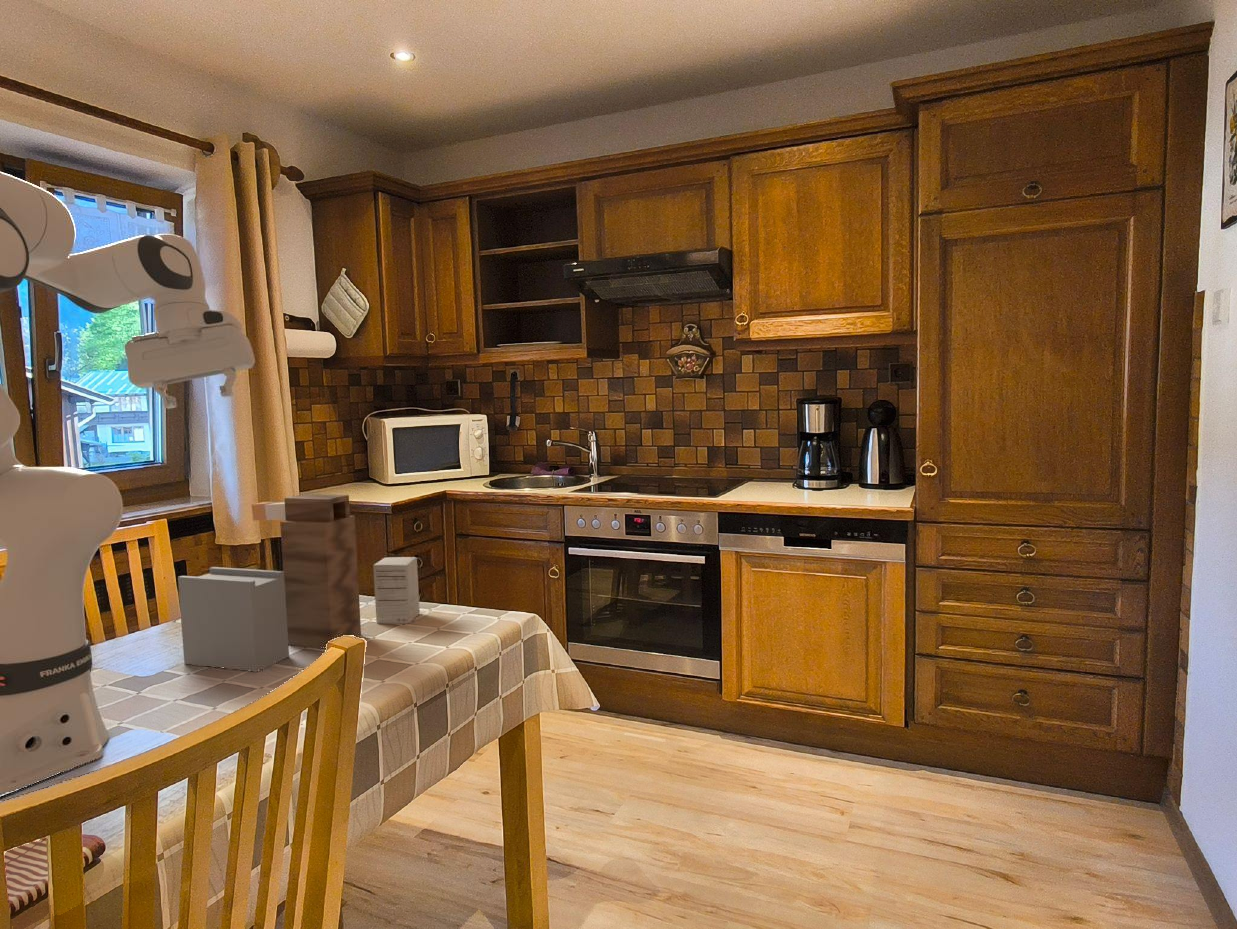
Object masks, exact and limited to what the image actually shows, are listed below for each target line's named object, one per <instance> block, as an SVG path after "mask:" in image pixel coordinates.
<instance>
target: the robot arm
mask: <svg viewBox="0 0 1237 929" xmlns="http://www.w3.org/2000/svg"><path fill="white" fill-rule="evenodd" d="M75 240H76V226H75V222H74V219H73V217H72V215H71V212H70V210H69V209H68V208H67V205H66V204H64V203H63V202H62V201H61V200H60V199H59V198H58V197H56V196H55V195H54V194H52V193H51V192H49V191H47V190H45V189H44V188H42V187H41V186H40V187H39V186H37V185H36V184H33V183H31V182H28V181H25V180H23V179H21V178H18V177H15V176H13V175H12V174H8V173H5V172H2V171H0V294H1V293H5V292H8V291H10V290H13V289H14V288H16V287H18V286H19V285H20V284H22V282H23V281H24V280H26V281H28V282H31V283H33V284H36V285H38V286H40V287H43V288H45V289H47V290H50V291H53V292H54V293H57V294H59V295H61V296H63V297H65V298H66V299H68V301H70V302H72V304H74V305H76V306H77V307H79V308H80V309H83V310H84V311H87V312H89V313H93V314H104V313H106V312H108V311H111V310H114V309H116V308H120V307H122V306H125V305H128V304H132V303H135V302H139V301H142V300H146V299H151V300H153V302H154V305H153V315H154V321H155V326H156V332H150V333H146V334H143V335H134V336H132V337H131V339H129V340H128V341H127V342H126V343H125V345H124V352H125V356H126V359H127V374H128V381H129V382H130V383H131V384H132V385H134V386H135V387H137V388H139V389H141V390H142V389H143V390H145V389H150V388H153V390H154V391H156V393H157V394H158V395H159V396H160V397H161V398H162V402H163V405H164V408H166V409H169V410H170V409H174V408H178V403H177V397H175V396H173V395H169V394H167V392H166V391H168V385H170V384H175V383H181V382H187V381H192V380H197V379H203V378H208V377H212V376H217V375H218V376H219V375H223V376H225V377H226V378H225V381H224V383H223V384H224V385H219V386H218V388H219V391H220V395H221V397H222V398H230V397H233V396H234V394H233V393H234V392H233V386H234V384H235V381H236V379H237V373H236V372H238V371H244V370H248V369H249V370H250V369H252V368H253V367H254V365H255V363H256V359H255V355H254V351H253V348H252V345H251V342H250V340H249V338H248V336H247V335H246V334H245V333H243V332H242V331H243V325H242V323H241V321H240V320H239V319H237V317H236V316H234V315H233V314H231V313H230V312H228V311H226V310H225V311H224V310H216V309H211V308H210V305H209V303H208V301H207V299H206V283H205V277H204V273H203V270H202V266H201V262H200V259H199V256H198V253H197V252H196V250H195V247H194V246H193V244H192V242H191V241H189V240H188V239H186V238H185V237H182V236H179V235H177V234H174V233H173V234H172V233H159V234H155V235H153V234H151V235H150V234H145V235H138V236H135V237H131V238H128V239H124V240H120V241H117V242H114V243H110V244H108V245H104V246H101V247H100V246H99V247H96V248H93V249H89V250H86V251H81V252H80V251H79V252H75V253H72V251H73V248H74V245H75V243H76V242H75ZM20 424H21V414H20V412H19V409H18V408H17V406H16V405H15V403H14V402H13V401H12V399H11V396H9V394H8V392H7V391H6V390H5V388H4V386H3V385H2V383H1V382H0V550H6V554H7V556H6V564H5V568H4V572H3V575H2V577H1V579H0V795H2V794H5V793H6V792H11V791H15V790H16V789H20V788H23V787H25V786H28V785H29V784H33V783H35V782H37V781H41V780H44V779H45V778H47V777H50V776H52V775H55V774H57V773H59V772H63V771H66V772H68V771H69V770H68V769H71V768H73V769H75V768H74V767H76V766H78V767H80V766H79V765H81V766H83V765H85V764H84V763H86V764H88V763H91V762H93V761H95V759H96V760H98V759H100V758H101V757H103V755H104V749H103V747H104V746H105V744H106V743H107V742H108V741H109V738H110V733H109V731H108V729H107V727H106V725H105V723H104V721H103V718H102V716H101V713H100V709H99V706H98V703H97V700H96V699H97V698H96V696H95V691H94V687H93V682H92V675H91V673H92V667H93V656H92V654H93V653H92V647H91V642H90V641H89V640H88V639H87V635H86V634H87V633H86V621H85V620H86V619H85V618H86V617H85V601H84V600H85V598H84V593H85V592H84V590H85V583H86V577H87V573H88V570H89V569H90V568H89V567H90V565H91V562H92V560H93V558H94V556H95V555H96V552H97V551H98V549H99V548H100V547H101V545H103V543H105V542H106V541H107V540H108V539H110V538H111V537H112V536H113V535H114V534H115V532H116V531H117V529H118V527H119V526H120V523H121V521H122V518H123V514H124V501H123V499H122V498H123V497H122V495H121V492H120V490H119V488H118V486H117V485H116V484H115V482H114V481H113V480H112V479H110V478H109V477H107V476H106V475H104V474H101V473H98V472H93V471H89V470H85V469H81V468H75V467H71V466H26V465H25V464H23V463H21V462H20V460H18V459H17V457H16V456H15V453H14V451H13V449H12V445H11V441H12V440H13V438H14V437H15V435H16V433H17V432H18V430H19V428H20ZM92 760H93V761H92ZM90 761H91V762H90ZM87 762H88V763H87ZM82 764H83V765H82ZM76 768H77V767H76ZM67 770H68V771H67ZM71 770H72V769H71ZM63 773H64V772H63ZM44 781H45V780H44ZM41 782H42V781H41Z"/></svg>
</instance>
